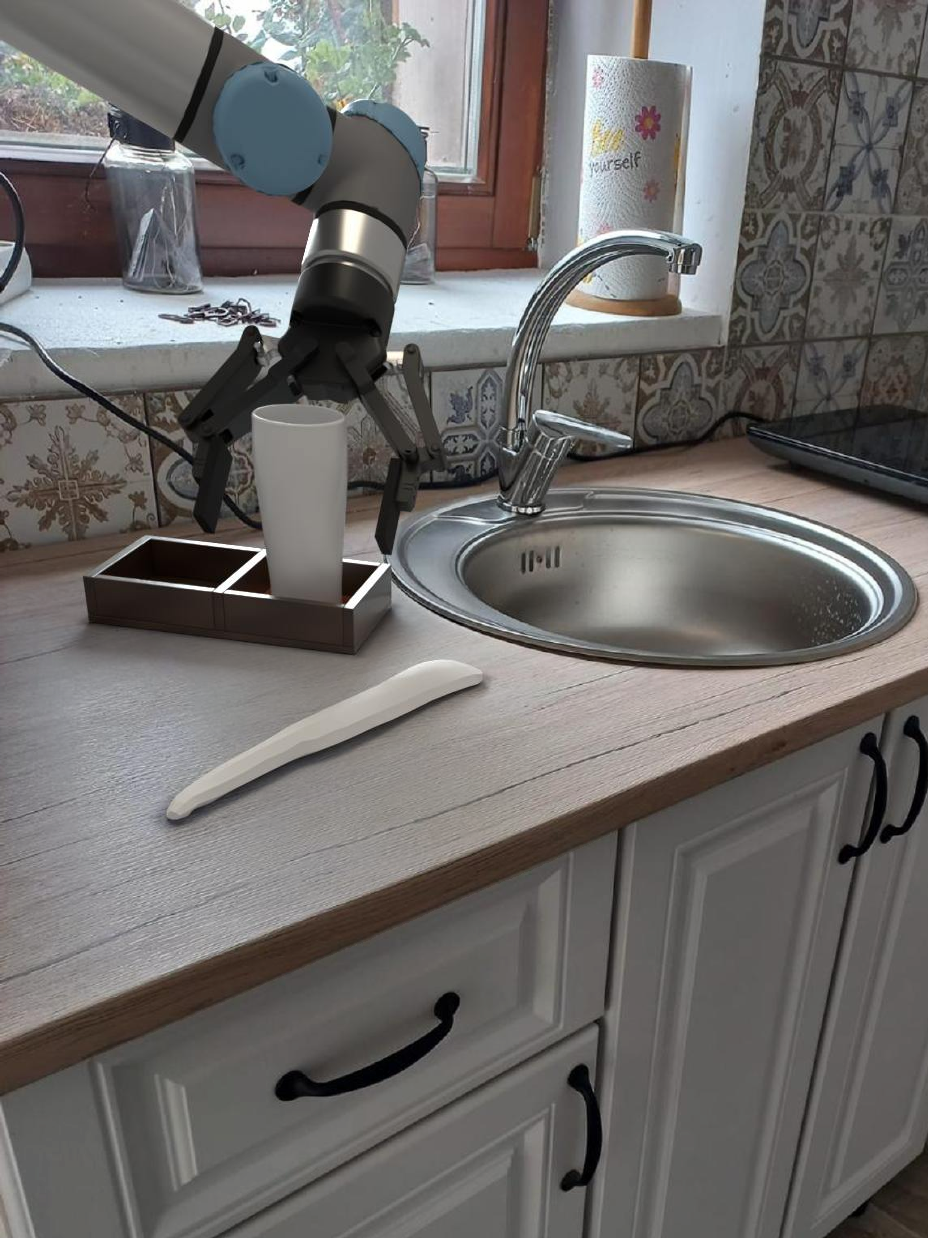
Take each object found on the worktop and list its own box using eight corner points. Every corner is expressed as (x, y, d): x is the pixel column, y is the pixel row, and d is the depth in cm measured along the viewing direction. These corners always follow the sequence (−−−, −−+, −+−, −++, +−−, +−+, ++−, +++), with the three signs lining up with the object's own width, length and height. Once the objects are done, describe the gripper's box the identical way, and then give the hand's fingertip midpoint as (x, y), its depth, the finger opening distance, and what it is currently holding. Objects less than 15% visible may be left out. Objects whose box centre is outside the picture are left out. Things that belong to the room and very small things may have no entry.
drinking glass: (308, 634, 93) (299, 430, 85) (243, 611, 95) (229, 411, 88) (369, 611, 98) (366, 416, 90) (306, 589, 101) (298, 399, 93)
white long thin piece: (188, 827, 69) (180, 786, 68) (137, 812, 71) (129, 773, 70) (490, 685, 90) (487, 653, 89) (444, 677, 92) (441, 645, 91)
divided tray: (88, 622, 93) (82, 575, 91) (149, 577, 102) (144, 534, 100) (354, 654, 92) (353, 608, 90) (391, 606, 101) (391, 564, 99)
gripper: (510, 339, 100) (465, 578, 94) (208, 305, 101) (147, 540, 95) (500, 275, 92) (451, 530, 87) (175, 239, 93) (107, 488, 88)
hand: (292, 535), depth 91 cm, fingers open, 13 cm apart
